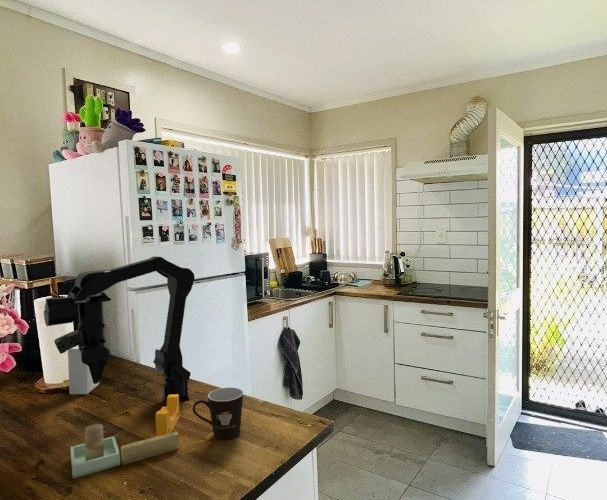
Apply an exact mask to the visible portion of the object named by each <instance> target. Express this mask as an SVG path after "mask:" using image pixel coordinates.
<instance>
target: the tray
mask: <svg viewBox="0 0 607 500" xmlns="http://www.w3.org/2000/svg"><path fill="white" fill-rule="evenodd" d="M103 445H104V456H103V457H99V458H96V459H92V460H88V461H85V443H81V444H77V445H74V446H70V447H69V448H70V462H71V463H70V464H71V473H72V475H71V476H72V479H76V478H80V477H84V476H87V475H90V474H93V473H98V472H101V471H104V470H109V469H111V468H114V467H118V466H120V465H121V455H120V454H121V452H120V451H119V447H118V446H119V445H118V444H117V441H116V437H115V435H113V436H109V437H106V438H103Z"/></svg>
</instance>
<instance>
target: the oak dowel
mask: <svg viewBox="0 0 607 500" xmlns="http://www.w3.org/2000/svg"><path fill="white" fill-rule="evenodd" d="M103 439H104V425H103V424H100V423H94V424H90V425H87V426H86V427H85V428H84V444H85V461H88V460H92V459H96V458H99V457H103V456H104V445H103Z"/></svg>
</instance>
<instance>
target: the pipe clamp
mask: <svg viewBox="0 0 607 500" xmlns="http://www.w3.org/2000/svg"><path fill="white" fill-rule="evenodd" d="M179 419H180V401H179V394H172V395H168V397H167V402H166V406H162V407H161V408H160V410H157V411H156V413H155V431H156V432H155V434H156V436H155V437H157V436H161V435H164V434H168V433H172V431H174V428H175V426H176V424H177V422H178V421H179Z"/></svg>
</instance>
